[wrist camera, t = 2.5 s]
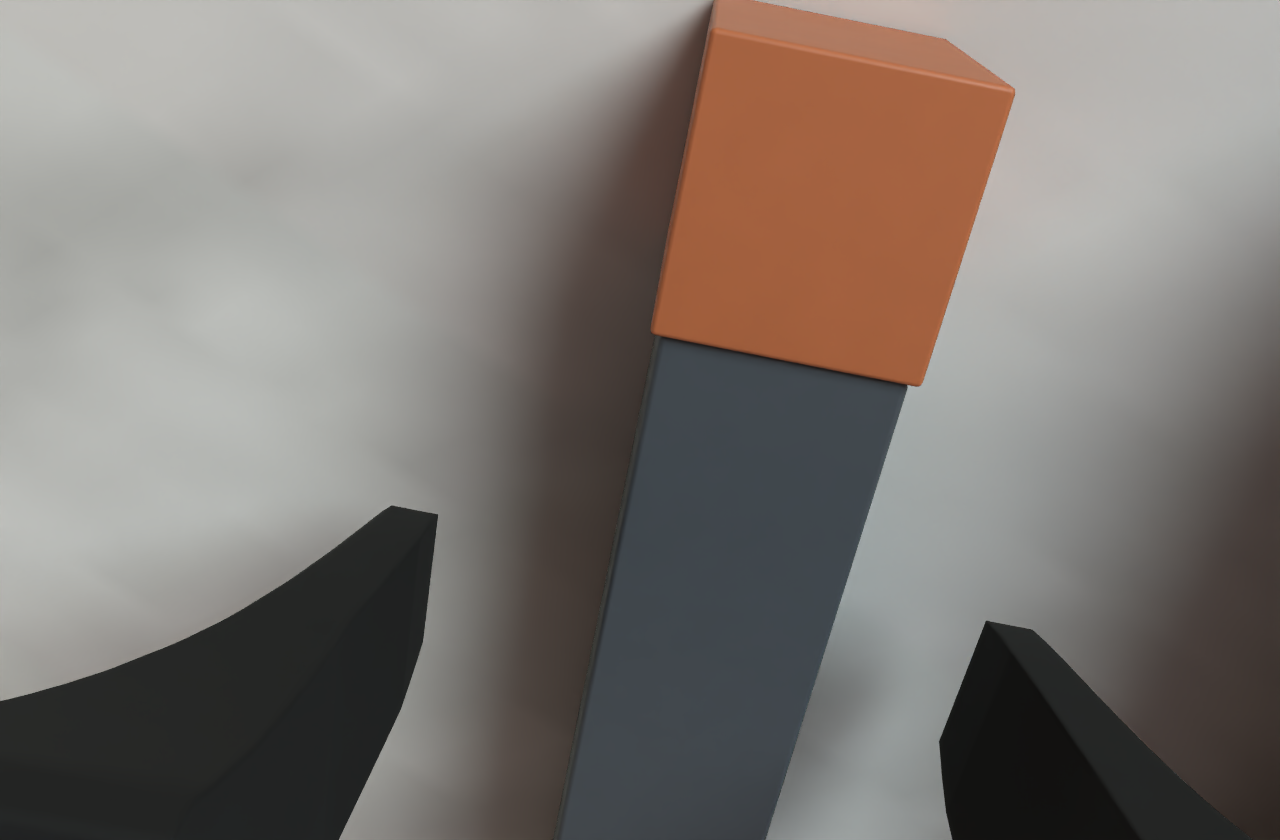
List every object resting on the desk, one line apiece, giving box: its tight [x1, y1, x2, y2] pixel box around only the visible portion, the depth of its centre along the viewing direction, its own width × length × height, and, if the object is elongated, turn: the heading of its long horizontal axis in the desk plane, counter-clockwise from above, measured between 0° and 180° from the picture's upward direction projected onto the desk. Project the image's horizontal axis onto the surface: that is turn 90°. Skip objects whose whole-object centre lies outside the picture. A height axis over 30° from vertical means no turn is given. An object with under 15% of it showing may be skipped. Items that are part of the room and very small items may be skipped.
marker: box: [553, 0, 1015, 840], centre depth 15 cm, size 15×3×4 cm, turn 170°
